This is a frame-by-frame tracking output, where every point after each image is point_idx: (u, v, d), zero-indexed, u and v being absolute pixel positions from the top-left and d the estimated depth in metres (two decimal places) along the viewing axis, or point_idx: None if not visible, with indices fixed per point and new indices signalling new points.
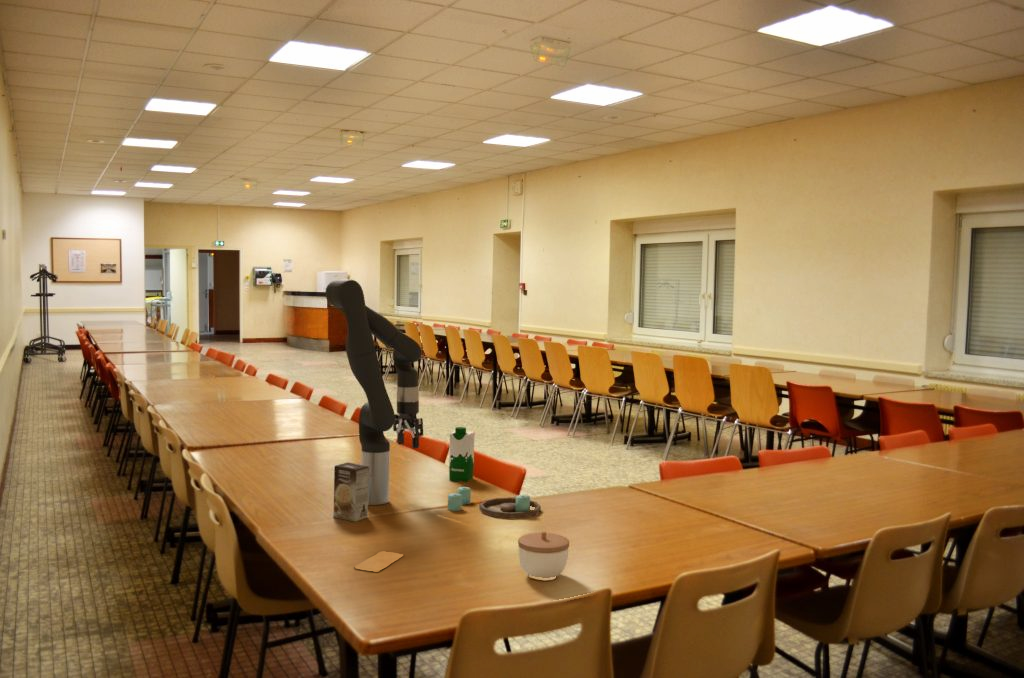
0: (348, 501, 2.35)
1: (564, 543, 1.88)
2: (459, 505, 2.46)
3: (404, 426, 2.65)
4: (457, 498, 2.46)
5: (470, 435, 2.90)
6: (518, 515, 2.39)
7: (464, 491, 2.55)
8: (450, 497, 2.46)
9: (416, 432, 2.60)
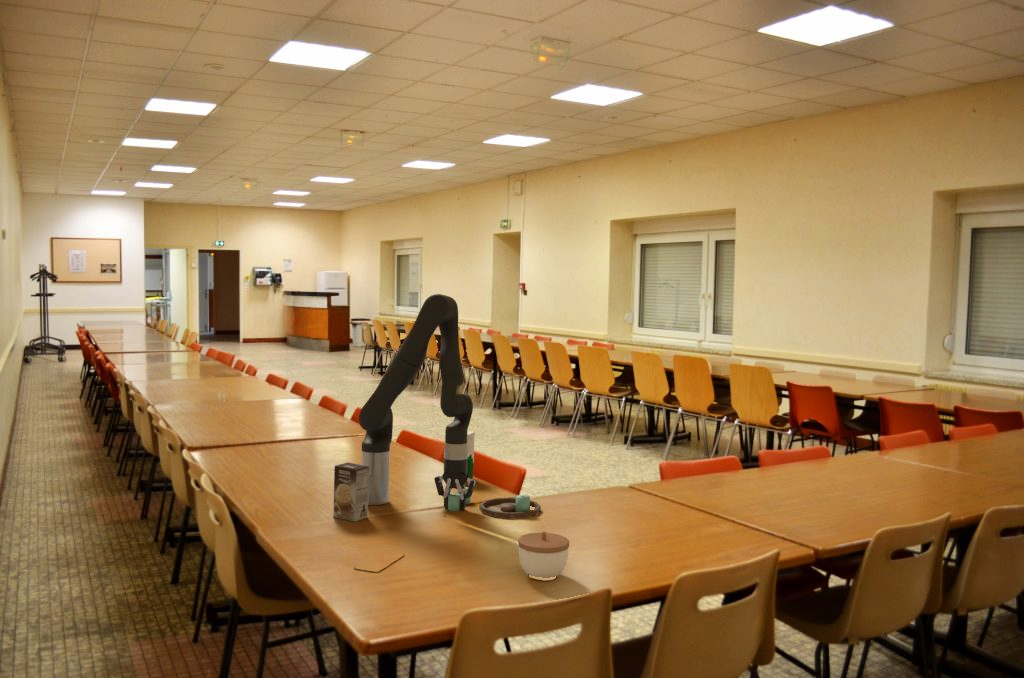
0: (348, 501, 2.35)
1: (564, 543, 1.88)
2: (459, 505, 2.46)
3: None
4: (457, 498, 2.46)
5: (470, 435, 2.90)
6: (518, 515, 2.39)
7: None
8: (450, 497, 2.46)
9: None
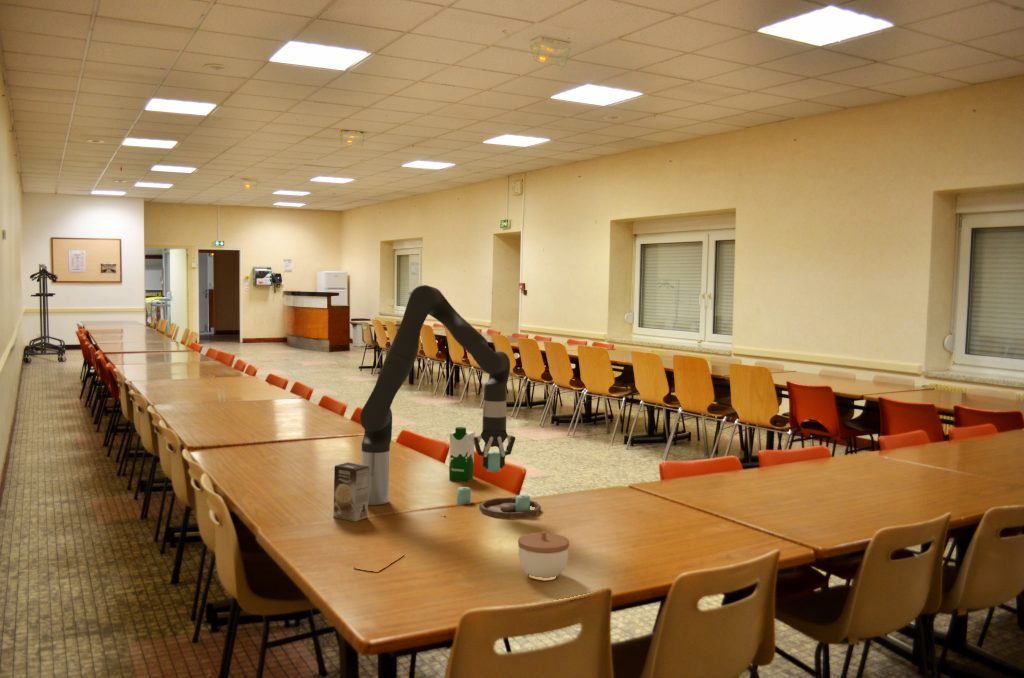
0: (348, 501, 2.35)
1: (564, 543, 1.88)
2: None
3: None
4: (499, 456, 2.45)
5: (470, 435, 2.90)
6: (518, 515, 2.39)
7: (464, 491, 2.55)
8: (492, 455, 2.44)
9: None
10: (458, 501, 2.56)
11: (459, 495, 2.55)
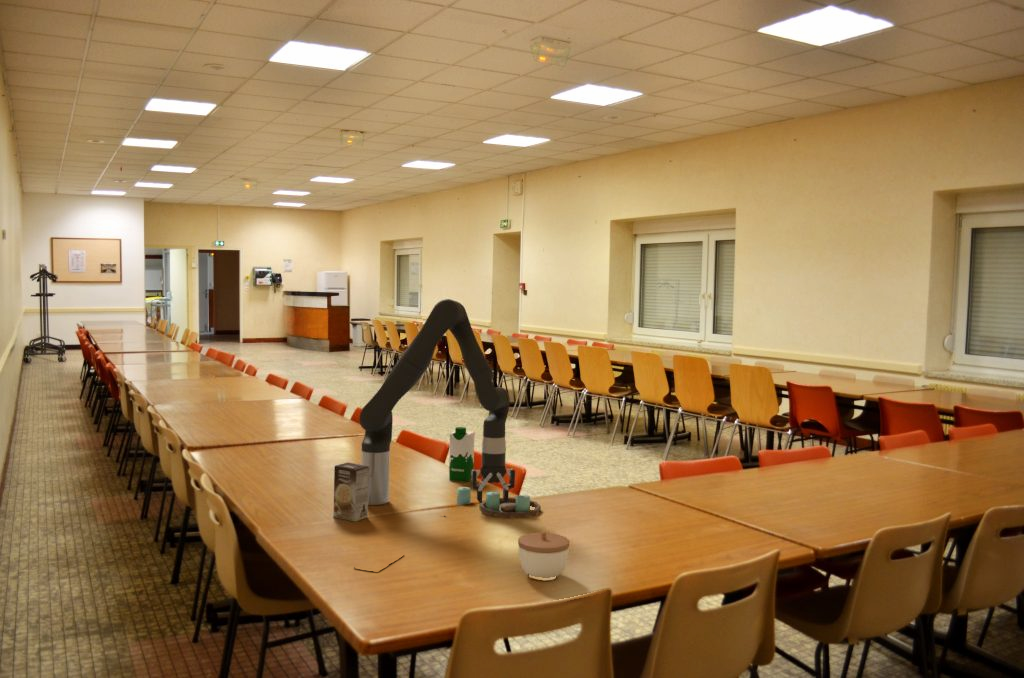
0: (348, 501, 2.35)
1: (564, 543, 1.88)
2: (499, 503, 2.46)
3: None
4: (498, 496, 2.45)
5: (470, 435, 2.90)
6: (518, 515, 2.39)
7: (464, 491, 2.55)
8: (492, 496, 2.44)
9: None
10: (458, 501, 2.56)
11: (459, 495, 2.55)
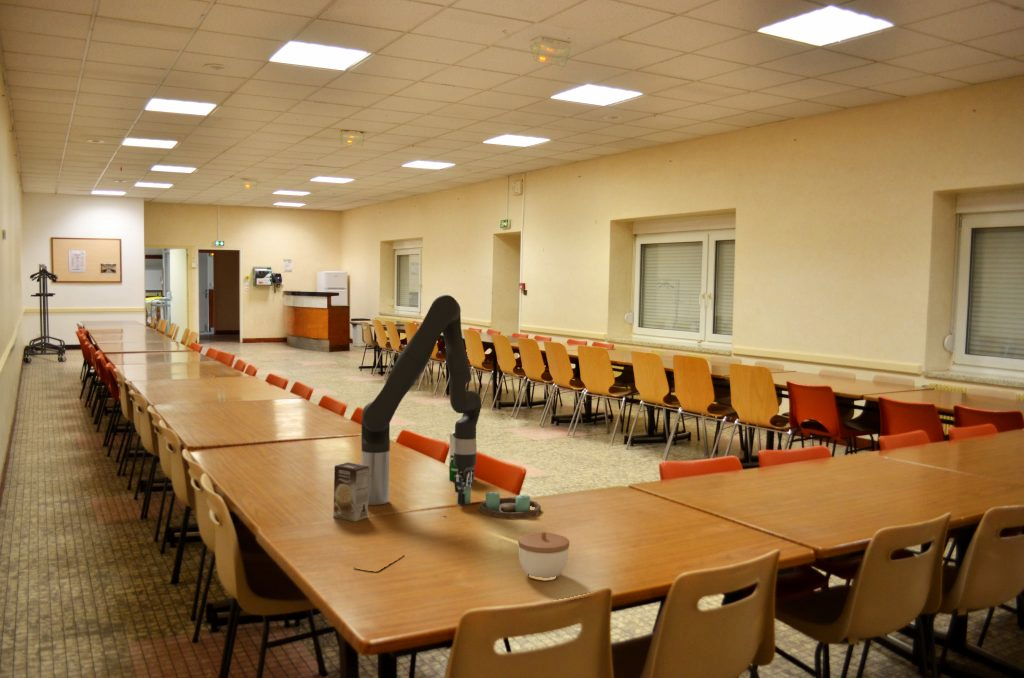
0: (348, 501, 2.35)
1: (564, 543, 1.88)
2: (499, 503, 2.46)
3: (467, 478, 2.56)
4: (498, 496, 2.45)
5: None
6: (518, 515, 2.39)
7: None
8: (492, 496, 2.44)
9: (472, 482, 2.61)
10: None
11: None
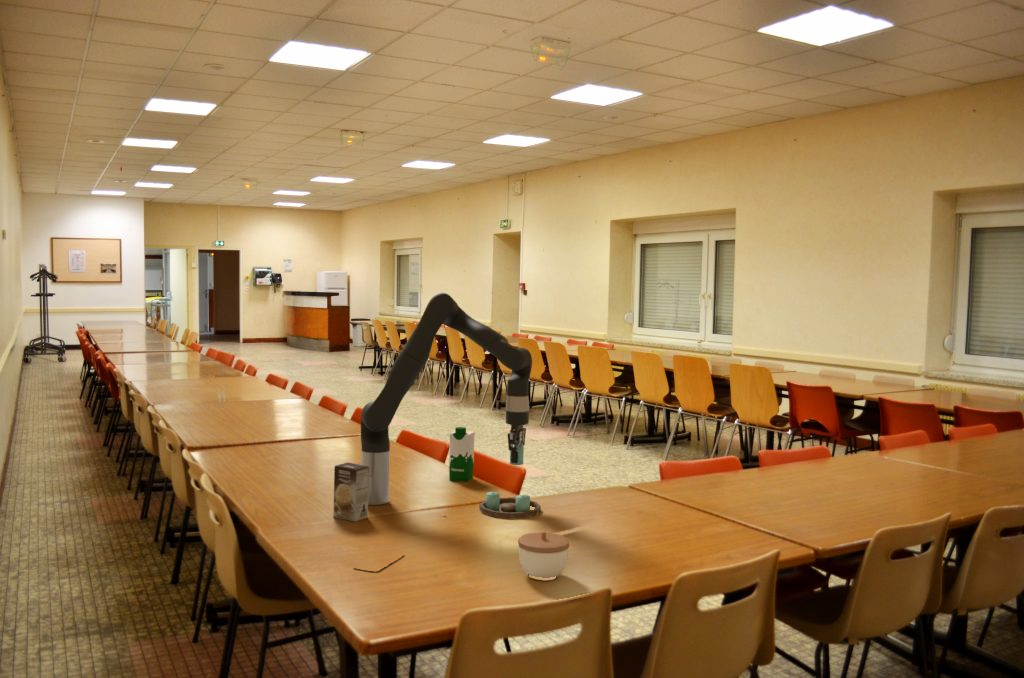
0: (348, 501, 2.35)
1: (564, 543, 1.88)
2: (499, 503, 2.46)
3: None
4: (498, 496, 2.45)
5: (470, 435, 2.90)
6: (518, 515, 2.39)
7: None
8: (492, 496, 2.44)
9: (524, 441, 2.57)
10: None
11: None
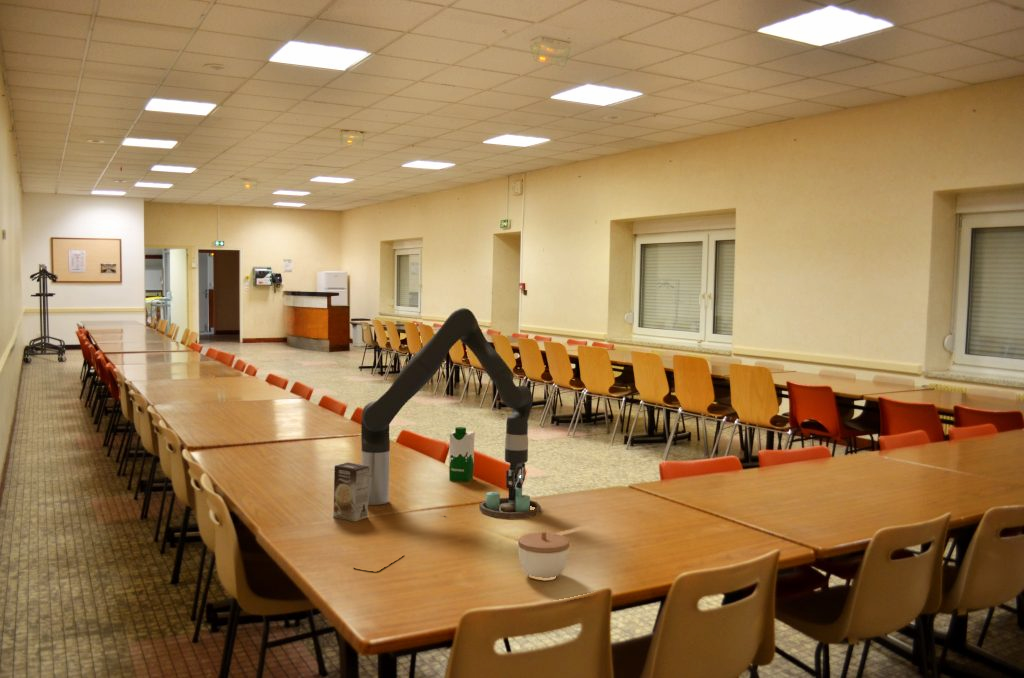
0: (348, 501, 2.35)
1: (564, 543, 1.88)
2: (499, 503, 2.46)
3: None
4: (498, 496, 2.45)
5: (470, 435, 2.90)
6: (518, 515, 2.39)
7: (516, 492, 2.51)
8: (492, 496, 2.44)
9: (524, 476, 2.58)
10: (510, 502, 2.52)
11: None
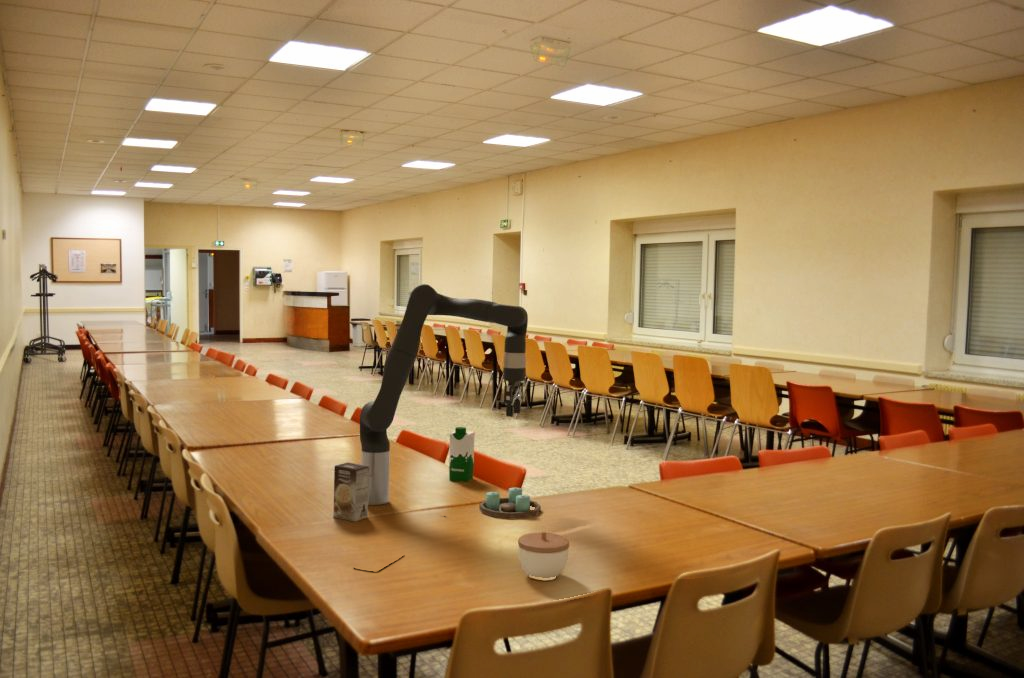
0: (348, 501, 2.35)
1: (564, 543, 1.88)
2: (499, 503, 2.46)
3: None
4: (498, 496, 2.45)
5: (470, 435, 2.90)
6: (518, 515, 2.39)
7: (516, 492, 2.51)
8: (492, 496, 2.44)
9: (522, 395, 2.64)
10: (510, 502, 2.52)
11: (511, 496, 2.52)
